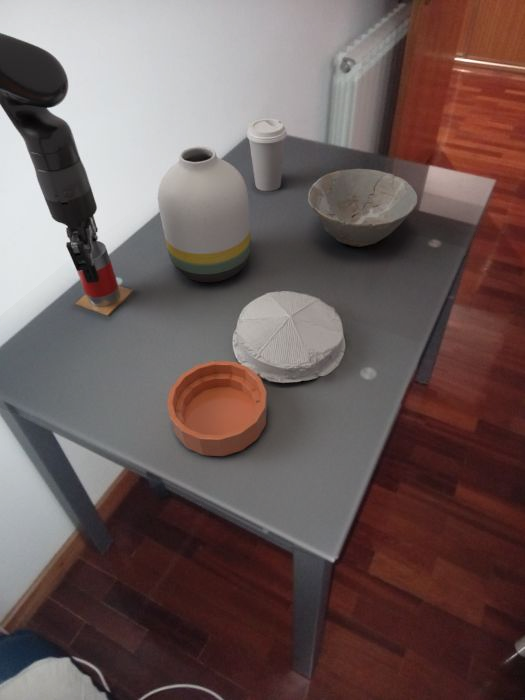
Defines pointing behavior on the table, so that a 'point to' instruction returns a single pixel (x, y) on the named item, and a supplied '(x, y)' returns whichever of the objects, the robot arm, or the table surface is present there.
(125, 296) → the coaster
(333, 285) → the table surface
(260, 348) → the white round slab
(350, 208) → the ceramic bowl
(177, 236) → the vase
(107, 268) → the can
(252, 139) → the coffee cup
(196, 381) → the dish
